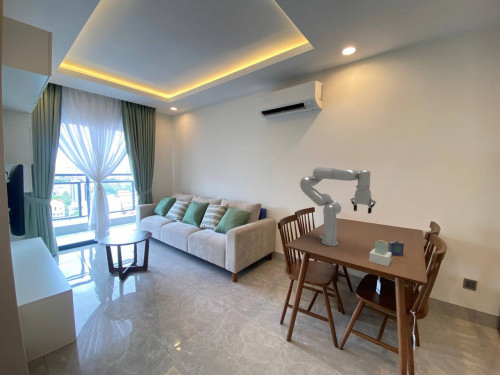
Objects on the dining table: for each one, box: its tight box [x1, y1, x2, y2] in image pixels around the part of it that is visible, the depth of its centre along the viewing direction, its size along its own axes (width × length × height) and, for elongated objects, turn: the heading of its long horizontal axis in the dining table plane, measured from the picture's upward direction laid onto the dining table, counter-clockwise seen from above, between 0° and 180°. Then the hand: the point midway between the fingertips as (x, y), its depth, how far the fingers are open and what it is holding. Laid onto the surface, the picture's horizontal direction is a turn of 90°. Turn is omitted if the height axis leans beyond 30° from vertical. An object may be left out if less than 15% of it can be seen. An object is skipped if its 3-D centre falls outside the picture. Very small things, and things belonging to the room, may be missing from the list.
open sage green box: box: [374, 239, 389, 255], centre depth 133 cm, size 5×5×8 cm
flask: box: [387, 239, 405, 257], centre depth 144 cm, size 9×3×11 cm, turn 83°
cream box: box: [368, 248, 392, 267], centre depth 134 cm, size 10×10×6 cm
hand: (362, 212), depth 148 cm, fingers open, 9 cm apart
